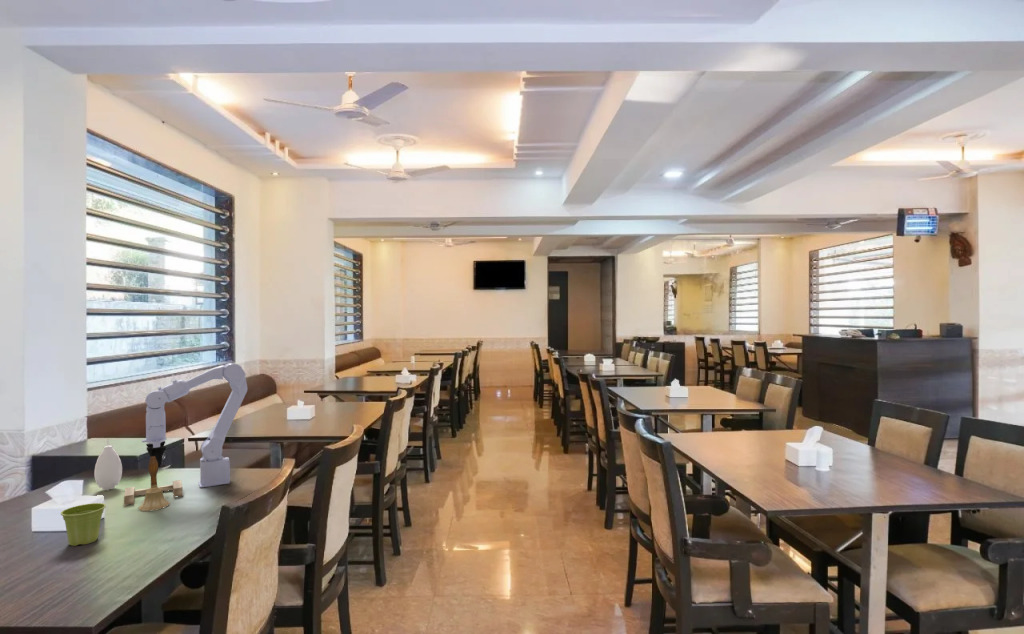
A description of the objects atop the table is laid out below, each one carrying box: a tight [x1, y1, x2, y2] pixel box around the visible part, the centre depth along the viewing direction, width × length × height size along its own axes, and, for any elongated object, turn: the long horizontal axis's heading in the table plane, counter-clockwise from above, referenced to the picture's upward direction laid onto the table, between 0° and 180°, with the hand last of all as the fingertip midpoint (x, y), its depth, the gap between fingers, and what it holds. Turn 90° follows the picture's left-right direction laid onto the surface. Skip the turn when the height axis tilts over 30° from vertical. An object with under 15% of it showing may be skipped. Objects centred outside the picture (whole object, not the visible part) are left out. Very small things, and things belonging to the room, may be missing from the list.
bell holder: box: [123, 479, 184, 506], centre depth 183 cm, size 16×11×3 cm
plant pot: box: [60, 502, 107, 547], centre depth 144 cm, size 9×9×9 cm
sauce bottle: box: [93, 438, 123, 491], centre depth 193 cm, size 8×8×18 cm
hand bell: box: [138, 456, 171, 512], centre depth 173 cm, size 8×8×16 cm
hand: (156, 465), depth 188 cm, fingers open, 7 cm apart
